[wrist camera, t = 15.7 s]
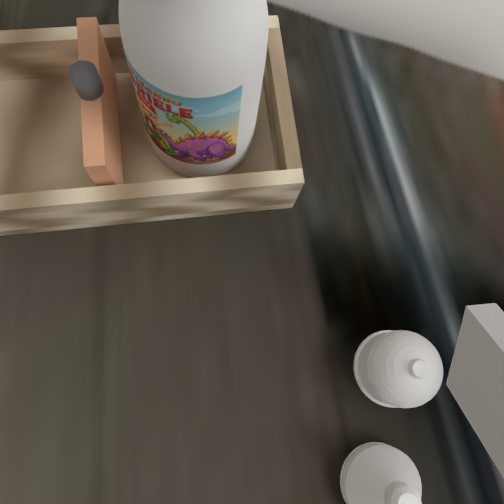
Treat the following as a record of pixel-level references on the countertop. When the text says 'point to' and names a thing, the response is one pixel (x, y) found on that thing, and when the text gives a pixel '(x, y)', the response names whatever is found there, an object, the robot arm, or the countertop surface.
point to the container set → (393, 395)
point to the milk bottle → (197, 77)
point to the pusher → (97, 105)
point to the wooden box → (123, 145)
